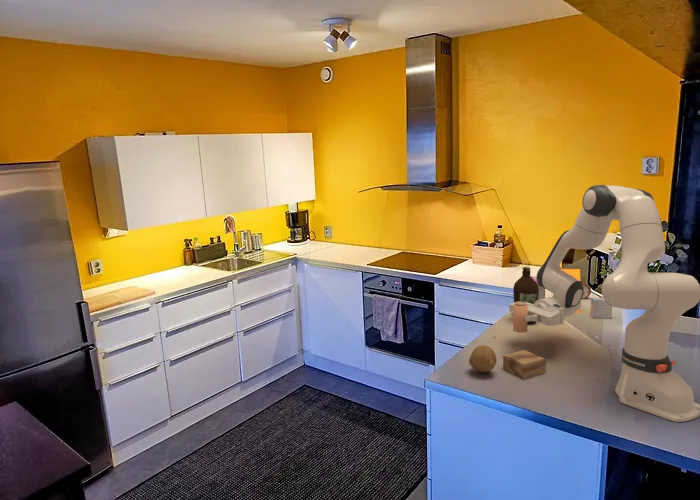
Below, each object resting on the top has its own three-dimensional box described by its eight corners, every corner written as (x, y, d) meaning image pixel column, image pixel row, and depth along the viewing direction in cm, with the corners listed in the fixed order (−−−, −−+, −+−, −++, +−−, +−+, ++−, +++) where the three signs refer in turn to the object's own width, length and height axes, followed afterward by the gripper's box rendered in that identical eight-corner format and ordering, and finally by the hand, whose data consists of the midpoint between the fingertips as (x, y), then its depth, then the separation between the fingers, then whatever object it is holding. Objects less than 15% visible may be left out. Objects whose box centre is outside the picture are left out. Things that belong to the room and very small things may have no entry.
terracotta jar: (530, 330, 176) (530, 303, 174) (520, 333, 174) (520, 305, 172) (519, 327, 181) (520, 300, 179) (510, 329, 179) (510, 302, 177)
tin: (590, 298, 241) (591, 282, 239) (590, 300, 238) (590, 284, 237) (558, 295, 249) (559, 279, 247) (557, 296, 246) (558, 281, 245)
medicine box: (609, 316, 215) (610, 297, 213) (611, 319, 211) (612, 300, 209) (590, 315, 217) (591, 297, 216) (592, 318, 213) (593, 300, 211)
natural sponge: (501, 376, 162) (502, 349, 160) (477, 380, 160) (477, 352, 158) (488, 365, 171) (489, 339, 169) (466, 369, 169) (466, 342, 167)
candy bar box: (529, 308, 230) (530, 276, 227) (540, 308, 229) (541, 276, 226) (533, 316, 219) (534, 282, 216) (544, 316, 218) (546, 282, 215)
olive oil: (510, 317, 219) (511, 265, 214) (533, 317, 218) (535, 264, 213) (515, 325, 208) (517, 270, 203) (540, 325, 207) (542, 270, 202)
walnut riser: (545, 372, 164) (546, 358, 163) (524, 379, 160) (524, 365, 159) (523, 361, 173) (524, 349, 172) (503, 368, 168) (503, 355, 167)
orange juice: (579, 312, 221) (581, 271, 217) (558, 311, 224) (560, 270, 220) (576, 307, 228) (578, 267, 225) (557, 306, 231) (558, 266, 227)
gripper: (524, 296, 191) (498, 301, 185) (567, 308, 173) (540, 315, 167) (524, 310, 192) (498, 317, 186) (566, 325, 174) (539, 332, 168)
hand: (518, 316), depth 176 cm, fingers closed on terracotta jar, 5 cm apart
